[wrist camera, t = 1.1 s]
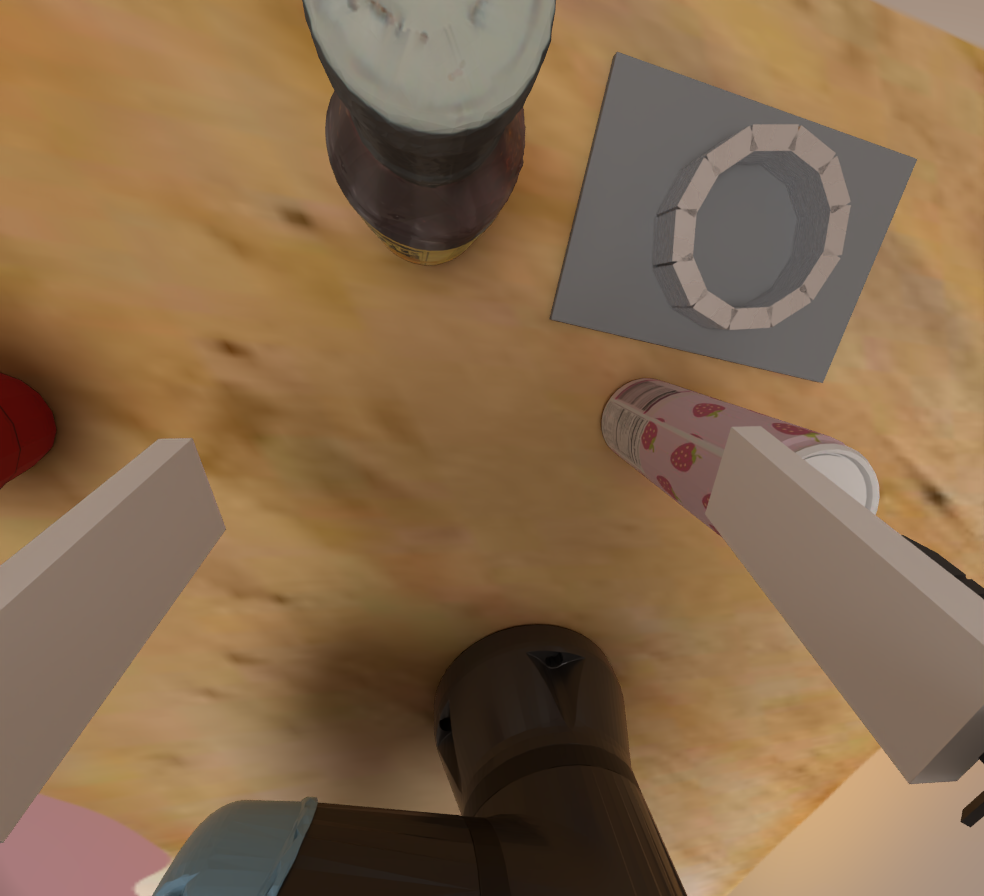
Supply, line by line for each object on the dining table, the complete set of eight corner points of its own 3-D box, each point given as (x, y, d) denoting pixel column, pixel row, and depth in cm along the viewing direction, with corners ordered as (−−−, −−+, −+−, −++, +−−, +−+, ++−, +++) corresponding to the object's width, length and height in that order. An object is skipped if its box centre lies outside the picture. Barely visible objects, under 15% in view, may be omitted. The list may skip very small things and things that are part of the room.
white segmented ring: (833, 268, 29) (869, 264, 26) (693, 358, 29) (716, 362, 27) (780, 102, 25) (815, 80, 23) (624, 207, 26) (642, 197, 24)
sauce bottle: (348, 176, 24) (58, -269, 6) (451, 124, 24) (512, -511, 5) (406, 291, 26) (338, 253, 8) (501, 244, 26) (669, 89, 8)
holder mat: (909, 161, 28) (917, 159, 27) (817, 381, 32) (822, 382, 31) (613, 56, 24) (617, 51, 24) (549, 319, 28) (551, 319, 27)
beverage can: (654, 468, 32) (831, 596, 18) (585, 441, 31) (716, 557, 17) (693, 395, 31) (916, 470, 16) (622, 364, 29) (798, 418, 15)
